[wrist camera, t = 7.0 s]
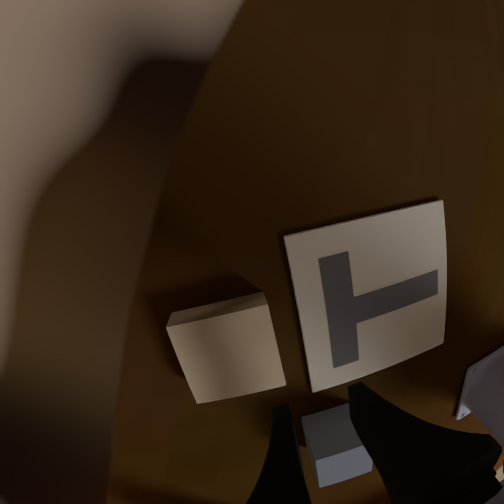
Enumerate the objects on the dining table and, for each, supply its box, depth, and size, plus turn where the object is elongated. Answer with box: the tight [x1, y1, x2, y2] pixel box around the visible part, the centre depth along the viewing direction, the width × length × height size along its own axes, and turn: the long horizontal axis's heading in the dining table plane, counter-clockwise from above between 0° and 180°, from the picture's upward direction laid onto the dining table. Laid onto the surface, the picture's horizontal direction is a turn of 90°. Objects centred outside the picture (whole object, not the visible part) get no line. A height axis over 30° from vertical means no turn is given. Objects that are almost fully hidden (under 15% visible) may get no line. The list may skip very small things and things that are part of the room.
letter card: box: [283, 200, 447, 393], centre depth 20 cm, size 12×12×1 cm
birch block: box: [166, 291, 286, 404], centre depth 19 cm, size 6×6×2 cm
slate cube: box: [301, 403, 372, 488], centre depth 20 cm, size 4×4×5 cm
